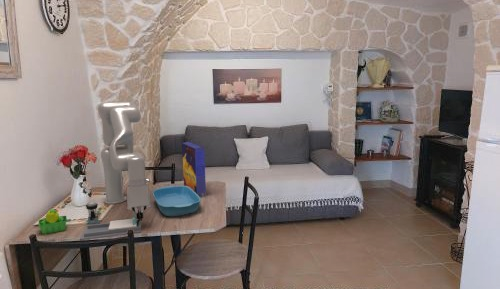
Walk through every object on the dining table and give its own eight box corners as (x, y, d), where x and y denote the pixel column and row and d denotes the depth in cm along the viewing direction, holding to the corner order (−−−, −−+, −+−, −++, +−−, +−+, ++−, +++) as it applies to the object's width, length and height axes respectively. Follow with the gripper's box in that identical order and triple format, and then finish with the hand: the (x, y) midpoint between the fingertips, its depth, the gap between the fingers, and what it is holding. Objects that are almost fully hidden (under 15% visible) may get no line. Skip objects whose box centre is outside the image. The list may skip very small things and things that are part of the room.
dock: (85, 228, 165) (84, 224, 164) (141, 221, 172) (141, 217, 171) (79, 240, 153) (79, 235, 152) (141, 232, 159) (140, 228, 159)
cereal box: (184, 188, 224) (182, 142, 219) (192, 187, 227) (191, 141, 222) (196, 198, 206) (194, 148, 201) (205, 196, 209) (204, 147, 203)
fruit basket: (67, 225, 169) (65, 202, 167) (67, 231, 161) (65, 208, 159) (40, 229, 164) (37, 207, 162) (39, 237, 156) (36, 213, 154)
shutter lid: (110, 222, 166) (109, 215, 165) (137, 219, 169) (136, 212, 169) (108, 230, 157) (107, 222, 156) (136, 226, 160) (136, 219, 160)
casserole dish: (206, 214, 181) (205, 201, 179) (162, 222, 171) (161, 208, 170) (187, 194, 213) (186, 183, 212) (149, 200, 204) (149, 188, 203)
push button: (102, 219, 176) (100, 200, 174) (102, 223, 171) (100, 203, 169) (87, 221, 173) (85, 202, 171) (87, 225, 168) (85, 205, 166)
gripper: (153, 178, 167) (156, 215, 171) (120, 181, 163) (123, 218, 166) (154, 183, 160) (156, 221, 163) (119, 186, 156) (122, 225, 159)
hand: (140, 219), depth 165 cm, fingers closed
